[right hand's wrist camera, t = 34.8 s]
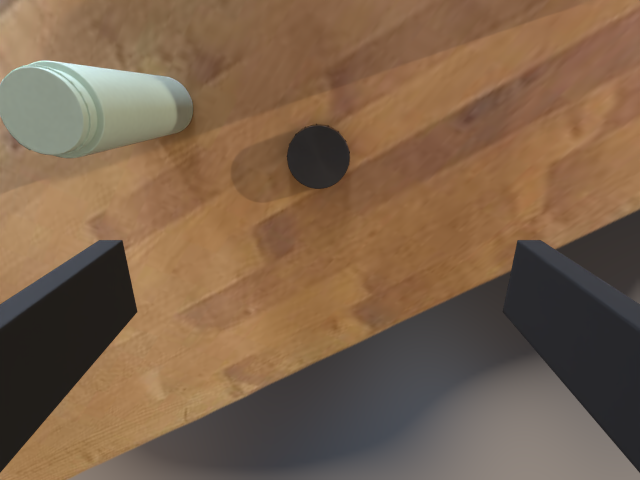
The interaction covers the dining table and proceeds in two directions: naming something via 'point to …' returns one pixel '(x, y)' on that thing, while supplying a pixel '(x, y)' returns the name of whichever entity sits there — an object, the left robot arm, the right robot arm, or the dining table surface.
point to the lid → (318, 156)
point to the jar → (89, 108)
